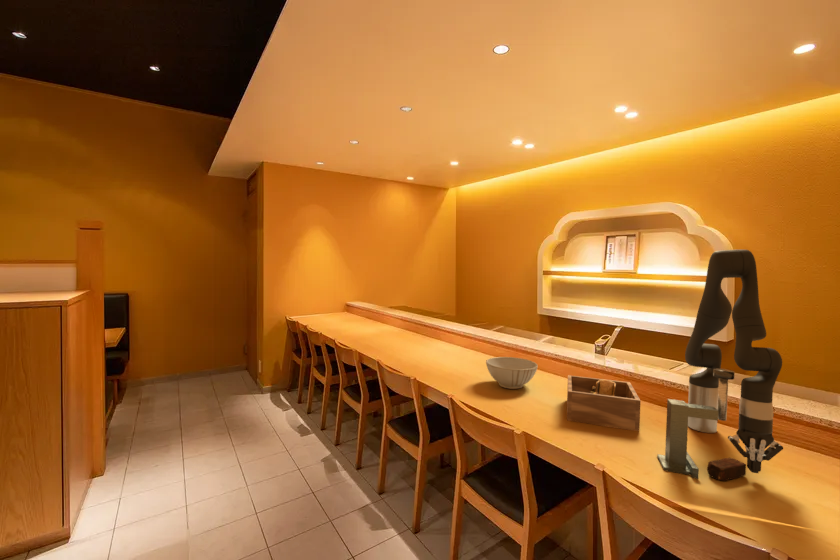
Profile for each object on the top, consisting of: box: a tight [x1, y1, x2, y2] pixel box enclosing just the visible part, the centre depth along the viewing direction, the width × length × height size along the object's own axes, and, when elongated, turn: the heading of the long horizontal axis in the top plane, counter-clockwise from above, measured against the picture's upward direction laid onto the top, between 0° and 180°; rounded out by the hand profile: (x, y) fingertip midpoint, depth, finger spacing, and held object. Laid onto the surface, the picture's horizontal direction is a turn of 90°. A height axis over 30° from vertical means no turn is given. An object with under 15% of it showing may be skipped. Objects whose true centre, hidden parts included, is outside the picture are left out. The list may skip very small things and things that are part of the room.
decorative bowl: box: [485, 356, 538, 390], centre depth 199 cm, size 27×27×12 cm
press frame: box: [656, 398, 719, 480], centre depth 117 cm, size 12×14×20 cm
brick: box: [706, 457, 747, 482], centre depth 113 cm, size 11×4×5 cm
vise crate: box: [566, 374, 641, 432], centre depth 161 cm, size 26×26×12 cm
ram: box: [713, 368, 736, 422], centre depth 114 cm, size 5×5×15 cm
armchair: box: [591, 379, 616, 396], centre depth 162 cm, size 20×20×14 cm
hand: (753, 471), depth 111 cm, fingers closed
